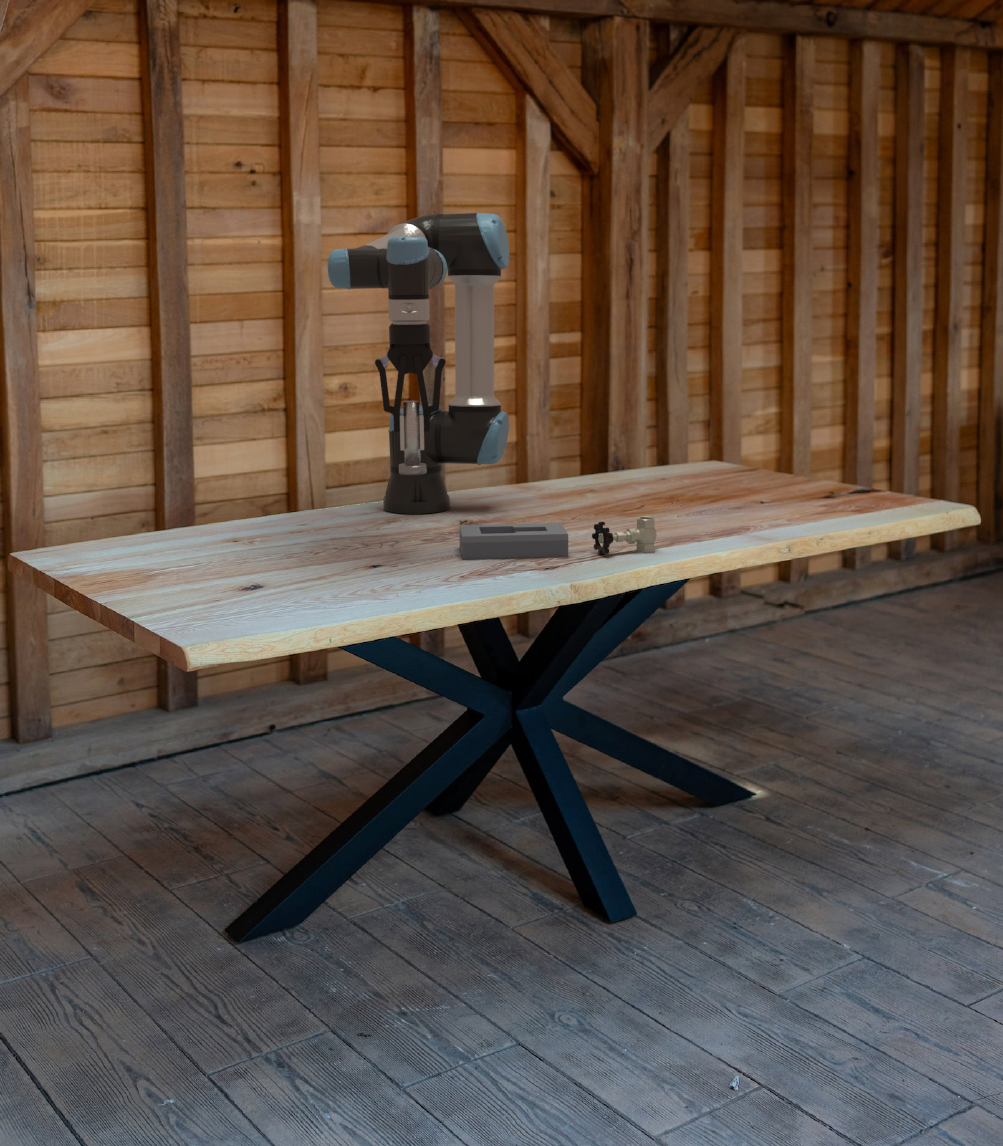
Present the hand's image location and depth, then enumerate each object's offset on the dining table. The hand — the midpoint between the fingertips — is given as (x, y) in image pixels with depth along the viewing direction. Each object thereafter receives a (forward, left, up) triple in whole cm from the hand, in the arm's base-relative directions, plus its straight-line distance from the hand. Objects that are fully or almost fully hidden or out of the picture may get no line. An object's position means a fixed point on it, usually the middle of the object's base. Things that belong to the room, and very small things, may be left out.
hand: (412, 449), depth 254 cm
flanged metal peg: (0, 0, -5) cm, 5 cm away
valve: (+32, +25, -21) cm, 46 cm away
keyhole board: (+14, +13, -20) cm, 28 cm away
